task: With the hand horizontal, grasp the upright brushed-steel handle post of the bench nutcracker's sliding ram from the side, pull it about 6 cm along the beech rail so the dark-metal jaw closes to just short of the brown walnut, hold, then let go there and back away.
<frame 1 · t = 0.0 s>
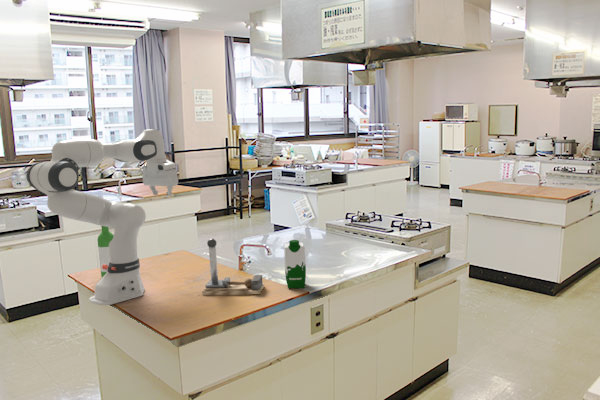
hand: (162, 195, 224), 39 cm above the countertop, tool pointing down, fingers open, 8 cm apart
ram: (216, 262, 206), point 12 cm above the countertop, slide at 0.0 cm
milk carton: (296, 286, 210), on the countertop
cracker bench: (233, 290, 207), on the countertop
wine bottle: (110, 277, 235), on the countertop
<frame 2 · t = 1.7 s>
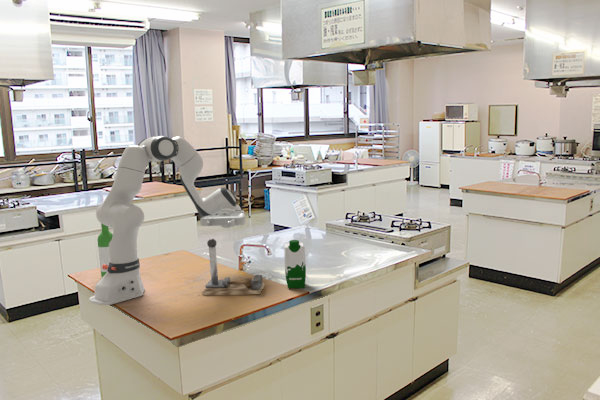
hand: (218, 224, 216), 26 cm above the countertop, tool horizontal, fingers open, 8 cm apart
nothing on the countertop moved.
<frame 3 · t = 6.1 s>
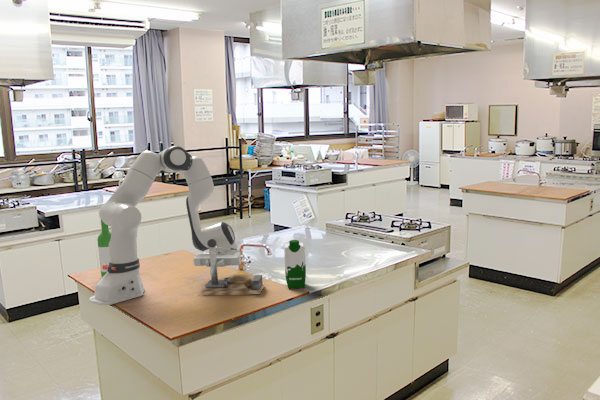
hand: (212, 264, 205), 12 cm above the countertop, tool horizontal, fingers closed on ram, 3 cm apart
ram: (216, 262, 206), point 12 cm above the countertop, slide at 0.0 cm, touching gripper
everything else where it was.
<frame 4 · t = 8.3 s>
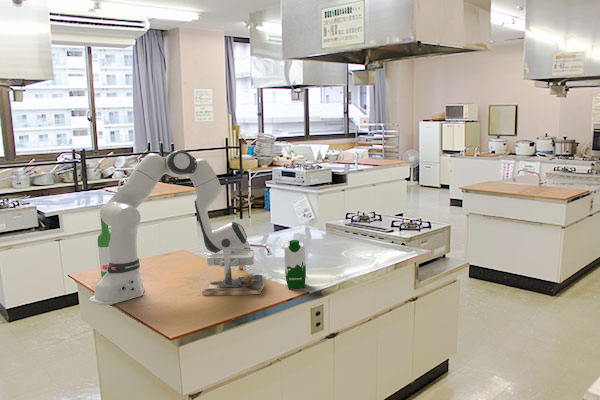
hand: (226, 264, 205), 12 cm above the countertop, tool horizontal, fingers closed on ram, 3 cm apart
ram: (230, 262, 205), point 12 cm above the countertop, slide at 5.9 cm, touching gripper
everything else where it was.
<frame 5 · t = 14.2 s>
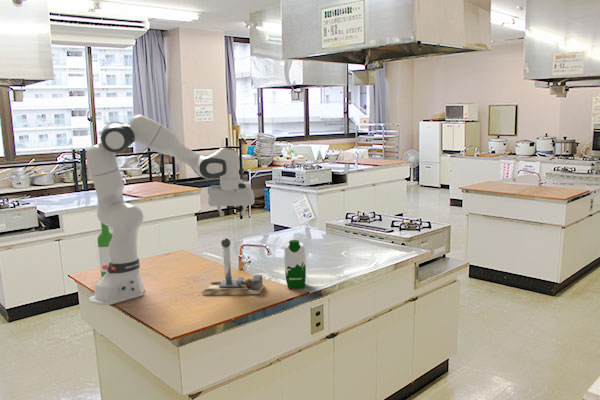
hand: (232, 215, 219), 29 cm above the countertop, tool pointing down, fingers open, 8 cm apart
ram: (230, 262, 205), point 12 cm above the countertop, slide at 6.0 cm
everything else where it was.
at the end: ram slide at 6.0 cm; the gripper is holding nothing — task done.
